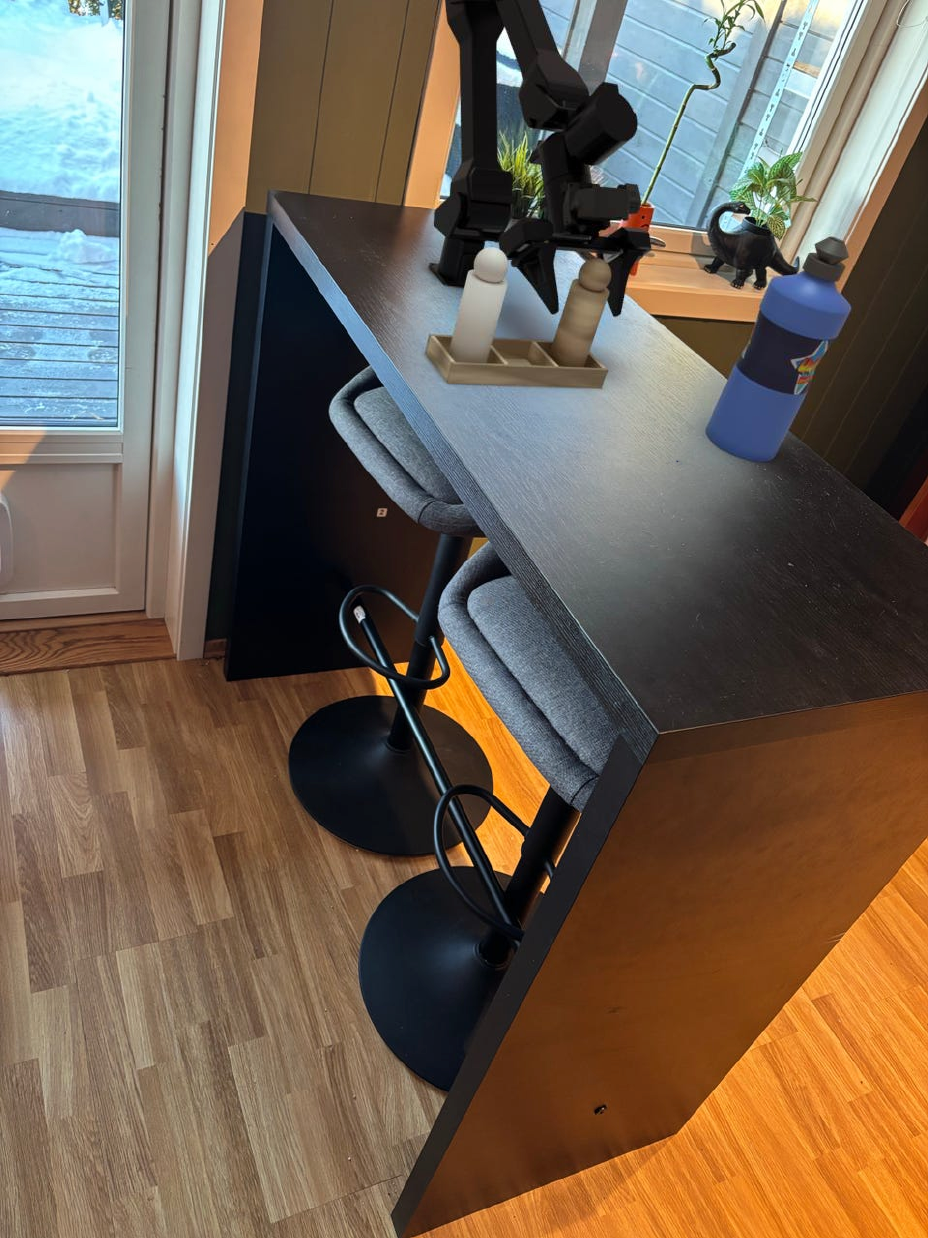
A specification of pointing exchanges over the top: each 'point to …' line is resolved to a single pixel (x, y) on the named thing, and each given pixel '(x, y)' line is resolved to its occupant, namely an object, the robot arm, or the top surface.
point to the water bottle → (781, 356)
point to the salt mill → (480, 307)
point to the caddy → (514, 365)
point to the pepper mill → (581, 314)
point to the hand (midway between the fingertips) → (586, 314)
